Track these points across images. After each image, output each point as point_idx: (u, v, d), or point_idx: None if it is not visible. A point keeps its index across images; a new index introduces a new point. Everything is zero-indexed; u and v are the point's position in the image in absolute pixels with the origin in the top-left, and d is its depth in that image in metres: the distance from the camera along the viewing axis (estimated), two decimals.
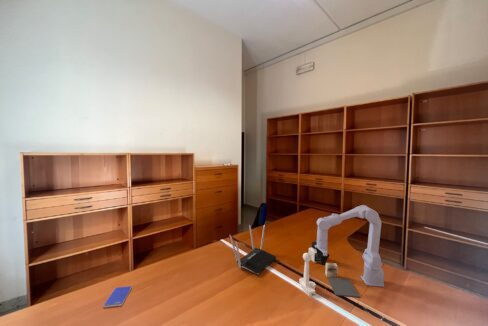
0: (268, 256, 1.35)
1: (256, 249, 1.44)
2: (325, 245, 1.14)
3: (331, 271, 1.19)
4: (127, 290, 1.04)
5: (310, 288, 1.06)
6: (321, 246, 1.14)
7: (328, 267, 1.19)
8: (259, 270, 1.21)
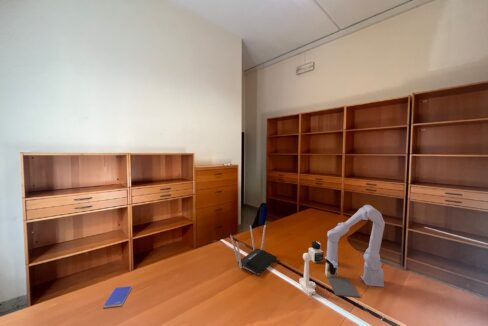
0: (269, 256, 1.35)
1: (257, 249, 1.44)
2: (335, 257, 1.17)
3: None
4: (127, 290, 1.04)
5: (310, 288, 1.06)
6: (331, 258, 1.17)
7: (328, 267, 1.19)
8: (260, 270, 1.21)
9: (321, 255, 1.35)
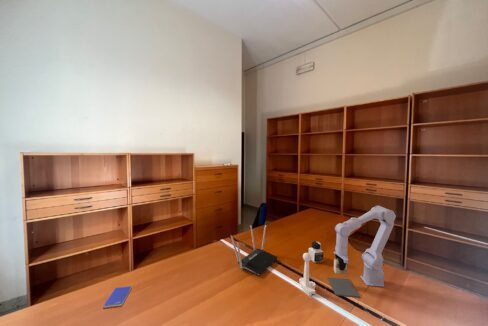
0: (269, 256, 1.35)
1: (257, 249, 1.44)
2: (345, 252, 1.10)
3: None
4: (127, 290, 1.04)
5: (310, 288, 1.06)
6: (340, 253, 1.10)
7: (337, 263, 1.12)
8: (260, 271, 1.20)
9: (321, 255, 1.35)
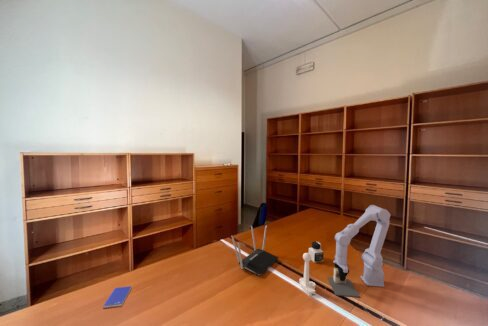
0: (270, 257, 1.35)
1: (258, 250, 1.43)
2: (345, 261, 1.11)
3: None
4: (127, 290, 1.04)
5: (310, 288, 1.06)
6: (340, 262, 1.11)
7: (336, 272, 1.12)
8: (261, 271, 1.20)
9: (321, 255, 1.35)
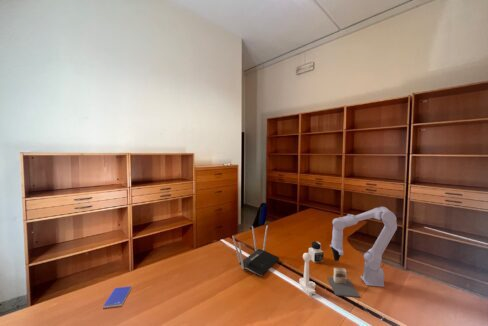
0: (271, 257, 1.34)
1: (259, 250, 1.43)
2: (340, 244, 1.17)
3: (340, 276, 1.12)
4: (127, 290, 1.04)
5: (310, 288, 1.06)
6: (336, 246, 1.17)
7: (336, 272, 1.12)
8: (262, 271, 1.20)
9: (321, 255, 1.35)
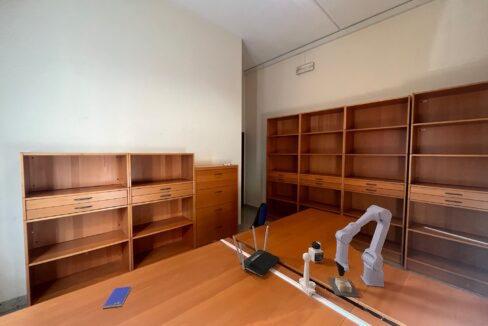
0: (272, 257, 1.34)
1: (259, 250, 1.43)
2: (346, 259, 1.09)
3: None
4: (127, 290, 1.04)
5: (310, 288, 1.06)
6: (341, 260, 1.10)
7: None
8: (263, 272, 1.19)
9: (321, 255, 1.35)
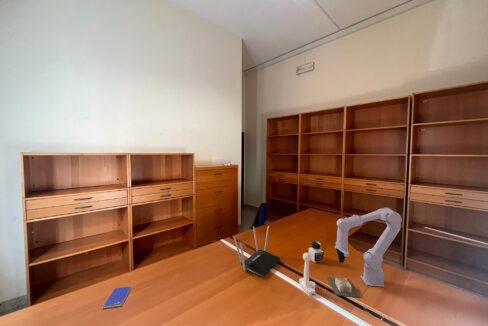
0: (272, 258, 1.33)
1: (260, 250, 1.42)
2: (346, 246, 1.14)
3: None
4: (126, 290, 1.04)
5: (310, 288, 1.06)
6: (341, 247, 1.15)
7: None
8: (264, 272, 1.19)
9: (321, 255, 1.35)
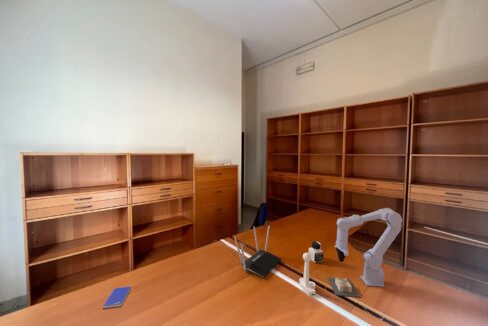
0: (273, 258, 1.33)
1: (261, 251, 1.42)
2: (345, 245, 1.15)
3: None
4: (126, 290, 1.04)
5: (310, 288, 1.06)
6: (341, 246, 1.15)
7: None
8: (264, 272, 1.19)
9: (321, 255, 1.35)
